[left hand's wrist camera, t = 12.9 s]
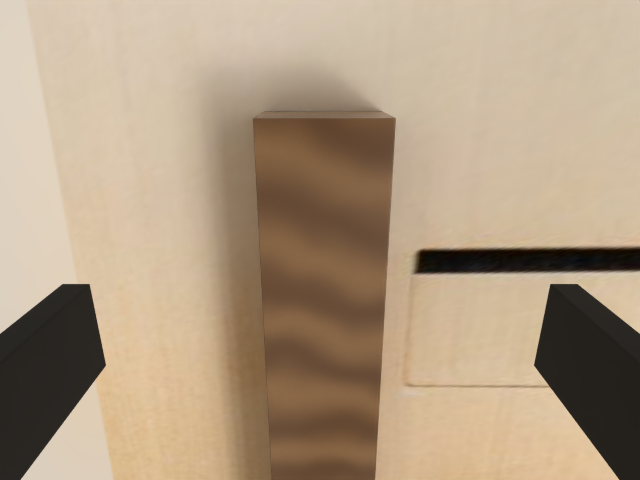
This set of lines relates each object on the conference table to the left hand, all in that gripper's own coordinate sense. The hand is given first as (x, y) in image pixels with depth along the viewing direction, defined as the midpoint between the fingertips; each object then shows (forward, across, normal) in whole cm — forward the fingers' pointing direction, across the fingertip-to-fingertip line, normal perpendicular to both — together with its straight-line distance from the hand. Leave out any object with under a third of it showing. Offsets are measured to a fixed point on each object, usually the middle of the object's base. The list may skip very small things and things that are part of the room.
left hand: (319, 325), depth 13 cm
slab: (+27, 0, -35) cm, 44 cm away
